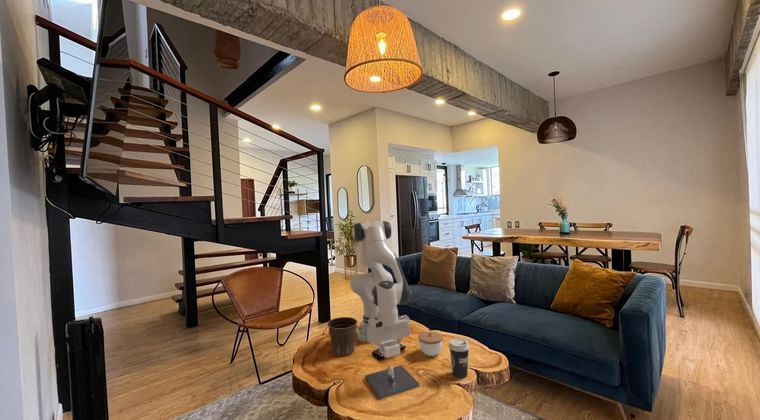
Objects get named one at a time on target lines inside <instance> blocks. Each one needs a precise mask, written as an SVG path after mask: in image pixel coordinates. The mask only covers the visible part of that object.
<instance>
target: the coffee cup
mask: <svg viewBox="0 0 760 420" xmlns="http://www.w3.org/2000/svg"><path fill="white" fill-rule="evenodd" d="M448 348H449V354H450V361H451V368H452V369H451V371H452V375H453V376H454V377H456V378H459V379H463V378H466V377H467V376H468V371H469V370H468V369H469V366H468V365H469V351H470V349H471V348H470V344H469V343H468V341H467V340H466V339H465V338H457V337H456V338H452V339H451V340H450V341H449V343H448Z"/></svg>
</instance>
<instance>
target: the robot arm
mask: <svg viewBox="0 0 760 420" xmlns="http://www.w3.org/2000/svg"><path fill="white" fill-rule="evenodd" d="M392 233H393V229H392V226H391V223H390V222H389V221H386V220H385V221H384V220H382V221H381V220H375V221H374V220H373V221H366V222H357V223H354V225H353V226H352V229H351V235H352V238H353V240H354V241H355V242H359V243H360V254H361V264H362V265H363V266H364V267H366V268H368V269H371V272H366V273H359V274H356V275H354V276H352V277H351V279H350V281H349V287H350V290H352V292H353V293H355V294H357V296H358V297H359V298H360V300H361V301H362V305H363V306H362V307H363V315H362V320H361V322H359V326H357V329H356V333H355V334H357V335H356V336H357V338H358V341H359V342H362V343H369V345H377V347H378V351H379V352H380V353H381V352H383V351H384V350H383V349H384V348H383V347H382V346H380V345H381V342H385V341H389V340H397V341H396V342H397V343H398V344H399V345H400V346H401V343H402V340H403V338H405V337H408V336H410V335H411V327H410V317H409V316H408V315H406V314H403V315H399V313H398V312H399V311H398V306H397V305H405V306H406V305H407V304H408V303H409V302H410V300H411V299H412V290H411V287H410V286H409V284H408V281H407V279H406V276H405V274H404V271H403V268H402V266H401V264H400V260H399V258H398V256H397V254H396V253H395V252H394V251H392V250H391V249H390V247H389V246H388V245H389V244H388V241H387V240H388V239H390V238H391V237H392ZM383 265H385V266H386V267H388V268H390V269H391V270H392V272H393V275H394V278H395V281H396V283H395V282H394V278H393V276H392V274H391V272H389V271H388V270H386V269H385V268H384V266H383Z"/></svg>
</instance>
